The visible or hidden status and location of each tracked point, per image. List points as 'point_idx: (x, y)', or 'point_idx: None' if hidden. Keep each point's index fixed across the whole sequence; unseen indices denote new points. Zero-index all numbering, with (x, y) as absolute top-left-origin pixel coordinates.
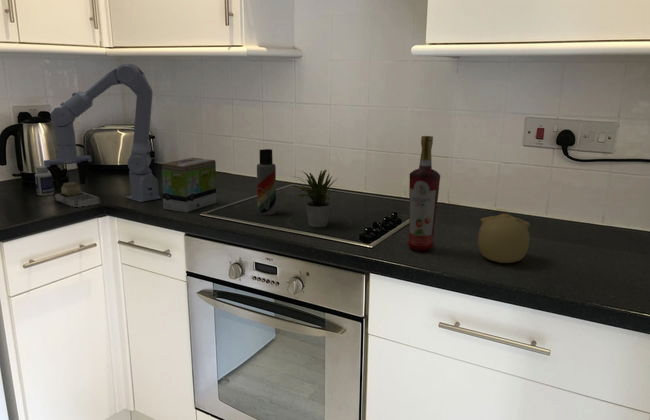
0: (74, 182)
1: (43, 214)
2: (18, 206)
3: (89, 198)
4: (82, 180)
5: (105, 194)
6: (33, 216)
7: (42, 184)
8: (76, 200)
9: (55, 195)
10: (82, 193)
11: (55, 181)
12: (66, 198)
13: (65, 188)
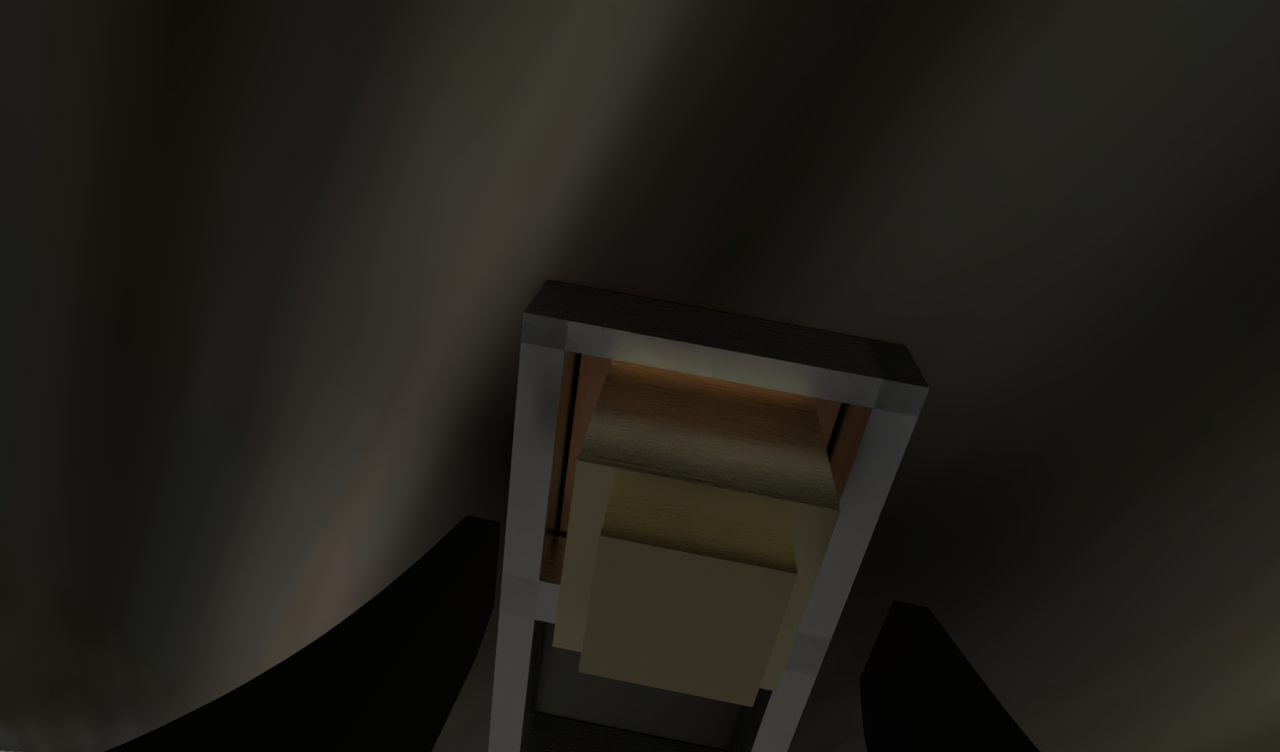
0: (768, 634)
1: (210, 670)
2: (59, 195)
3: None
4: (877, 739)
5: (1167, 540)
6: (126, 657)
7: None
8: None
9: (525, 333)
10: None
11: (407, 587)
12: (503, 627)
13: (559, 599)
